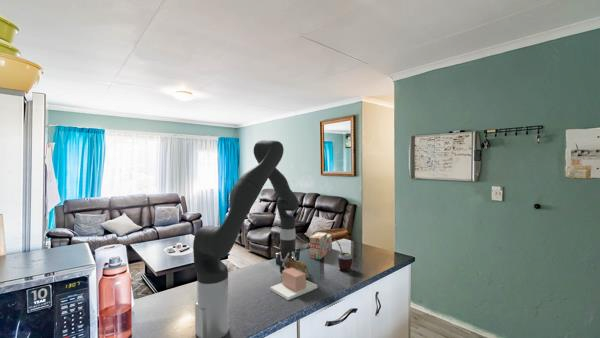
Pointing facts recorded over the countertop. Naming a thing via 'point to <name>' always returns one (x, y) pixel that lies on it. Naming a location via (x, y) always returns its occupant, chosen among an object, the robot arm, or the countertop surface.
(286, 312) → the countertop surface
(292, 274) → the terracotta brick
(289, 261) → the lion figurine
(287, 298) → the baseplate
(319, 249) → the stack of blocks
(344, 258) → the mate gourd
